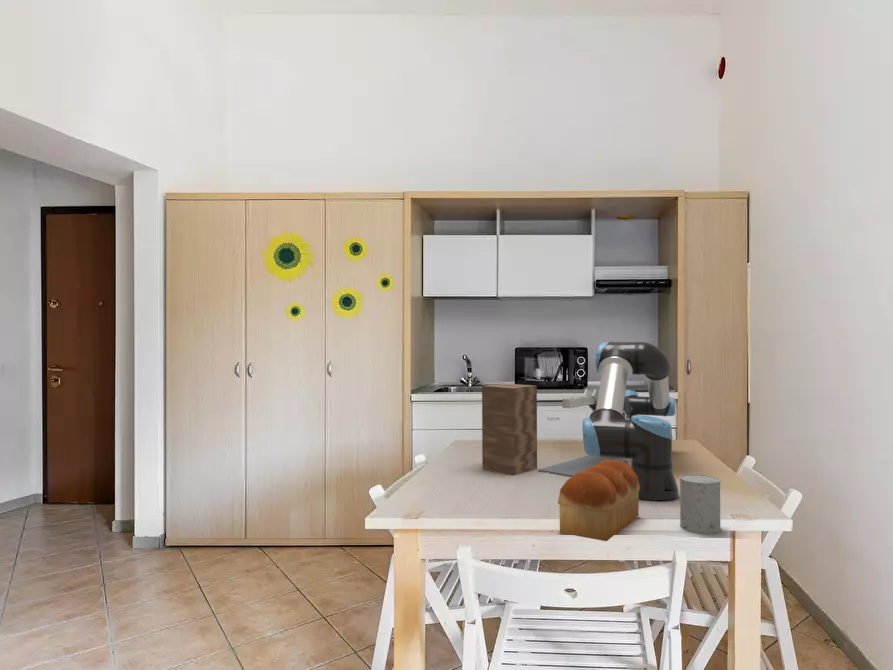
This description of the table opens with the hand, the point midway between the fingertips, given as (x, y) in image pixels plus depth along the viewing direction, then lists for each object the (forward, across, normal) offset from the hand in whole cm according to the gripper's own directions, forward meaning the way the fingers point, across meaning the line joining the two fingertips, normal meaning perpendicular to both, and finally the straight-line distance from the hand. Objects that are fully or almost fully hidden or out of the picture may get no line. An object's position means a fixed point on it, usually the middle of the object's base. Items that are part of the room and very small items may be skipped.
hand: (589, 392), depth 234 cm
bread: (+41, -39, -54) cm, 78 cm away
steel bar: (+1, 0, -5) cm, 5 cm away
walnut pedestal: (+9, +18, -36) cm, 41 cm away
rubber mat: (-10, 0, -25) cm, 27 cm away
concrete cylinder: (+28, -59, -47) cm, 81 cm away
